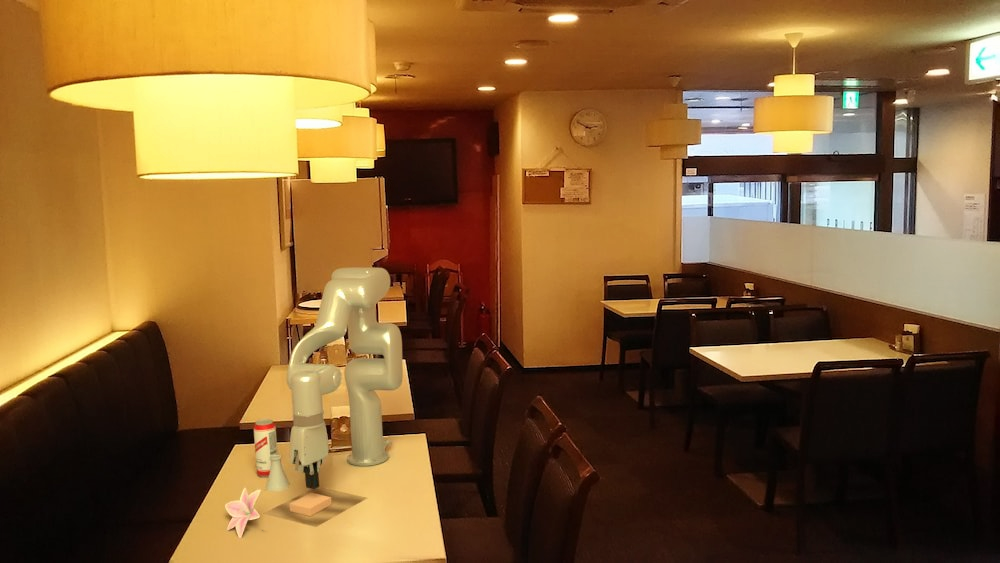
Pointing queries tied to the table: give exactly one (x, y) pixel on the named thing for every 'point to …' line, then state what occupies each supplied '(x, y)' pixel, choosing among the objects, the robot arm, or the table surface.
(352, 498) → the board
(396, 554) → the table surface
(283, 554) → the table surface
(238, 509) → the lily
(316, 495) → the tile
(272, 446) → the beer can
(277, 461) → the flask
